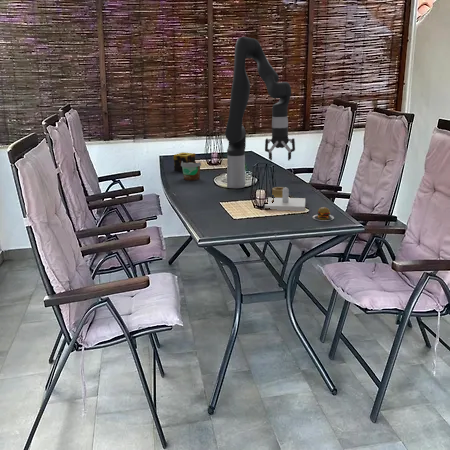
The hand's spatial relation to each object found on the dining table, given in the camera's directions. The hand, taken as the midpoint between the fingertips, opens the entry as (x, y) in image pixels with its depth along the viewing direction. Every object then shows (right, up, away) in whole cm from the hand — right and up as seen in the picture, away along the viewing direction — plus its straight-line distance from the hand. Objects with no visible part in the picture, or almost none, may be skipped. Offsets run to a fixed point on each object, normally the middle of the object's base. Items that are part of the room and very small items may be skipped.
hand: (280, 160), depth 243 cm
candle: (-51, +3, +72) cm, 88 cm away
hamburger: (+15, -29, -27) cm, 43 cm away
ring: (0, -17, +6) cm, 18 cm away
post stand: (+2, -22, -9) cm, 24 cm away
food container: (-47, -5, +46) cm, 66 cm away
